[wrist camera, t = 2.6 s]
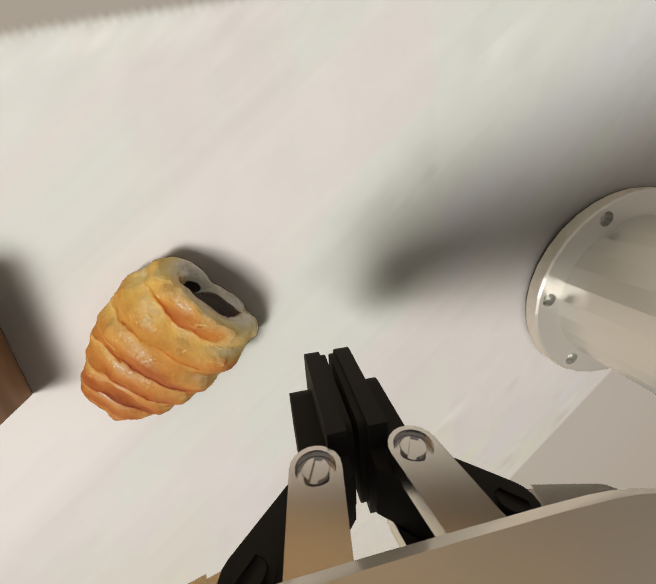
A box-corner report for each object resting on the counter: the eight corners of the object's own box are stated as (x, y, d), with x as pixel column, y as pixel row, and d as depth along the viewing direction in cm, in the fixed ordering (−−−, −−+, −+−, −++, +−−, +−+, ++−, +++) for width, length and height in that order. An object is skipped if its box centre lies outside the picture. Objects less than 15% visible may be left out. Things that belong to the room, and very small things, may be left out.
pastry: (168, 419, 20) (146, 472, 17) (59, 361, 18) (7, 408, 14) (268, 313, 19) (267, 346, 15) (165, 235, 16) (136, 252, 13)
